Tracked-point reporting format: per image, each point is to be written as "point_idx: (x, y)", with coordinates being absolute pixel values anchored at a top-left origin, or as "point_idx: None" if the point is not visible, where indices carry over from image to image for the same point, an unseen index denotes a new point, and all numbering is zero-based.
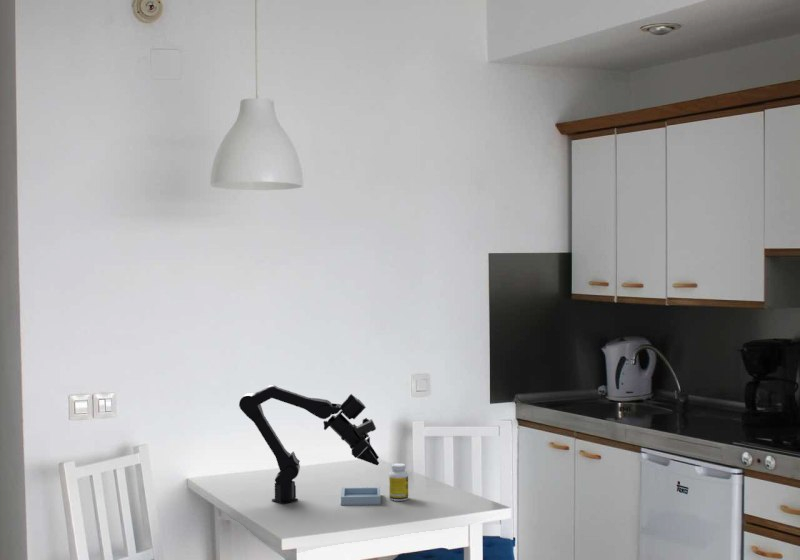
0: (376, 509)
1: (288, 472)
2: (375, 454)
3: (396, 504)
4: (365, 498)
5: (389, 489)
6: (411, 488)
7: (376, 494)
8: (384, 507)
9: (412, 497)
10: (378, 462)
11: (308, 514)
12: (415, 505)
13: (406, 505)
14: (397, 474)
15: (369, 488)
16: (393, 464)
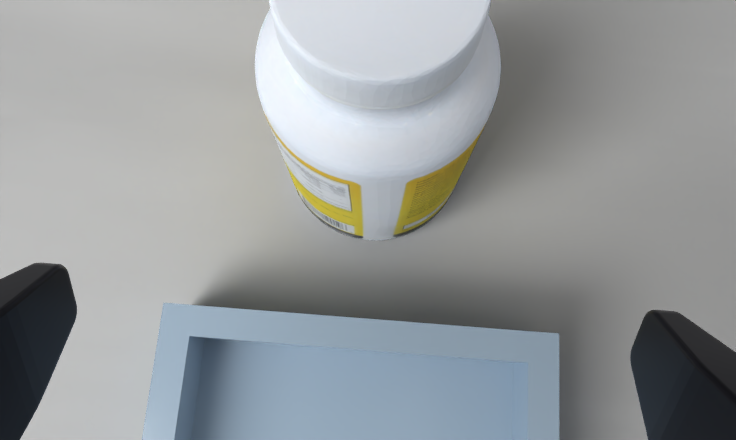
0: None
1: None
2: (8, 336)
3: (546, 201)
4: None
5: (391, 221)
6: (21, 25)
7: (232, 347)
8: (642, 311)
9: None
10: (688, 324)
11: None
12: (587, 62)
13: (583, 127)
14: (487, 70)
15: (179, 419)
16: (343, 48)
